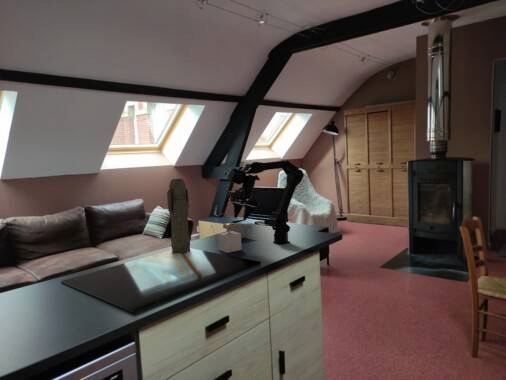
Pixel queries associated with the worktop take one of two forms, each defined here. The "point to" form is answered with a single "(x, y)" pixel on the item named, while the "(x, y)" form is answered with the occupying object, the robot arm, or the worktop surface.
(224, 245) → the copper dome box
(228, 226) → the plunger
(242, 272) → the worktop surface
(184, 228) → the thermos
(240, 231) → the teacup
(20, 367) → the worktop surface
